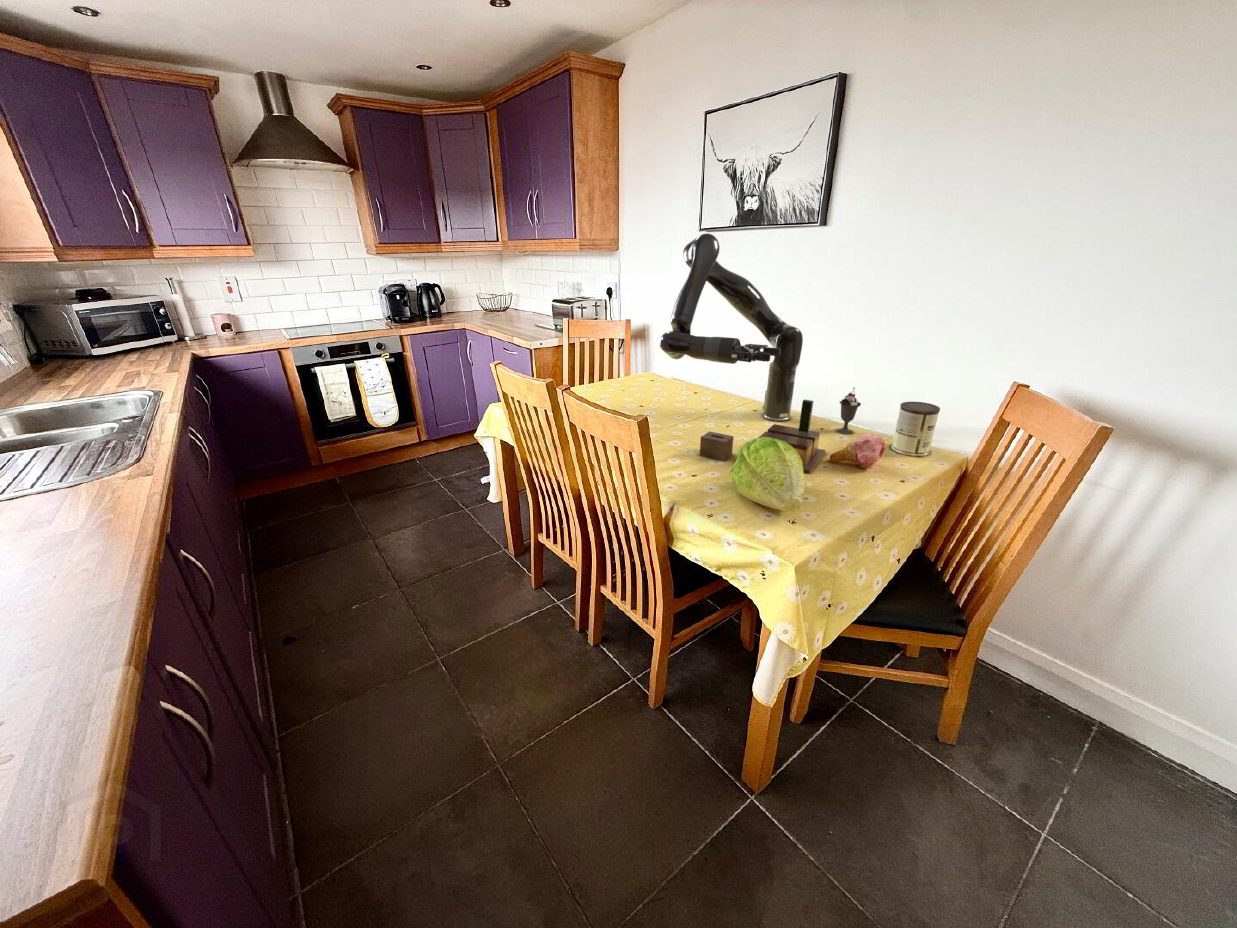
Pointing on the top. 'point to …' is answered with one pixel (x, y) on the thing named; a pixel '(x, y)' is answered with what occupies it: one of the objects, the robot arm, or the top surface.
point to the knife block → (716, 445)
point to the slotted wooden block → (798, 444)
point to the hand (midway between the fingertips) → (774, 355)
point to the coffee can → (915, 428)
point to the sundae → (848, 411)
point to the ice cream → (862, 451)
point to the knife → (805, 419)
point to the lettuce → (770, 474)
